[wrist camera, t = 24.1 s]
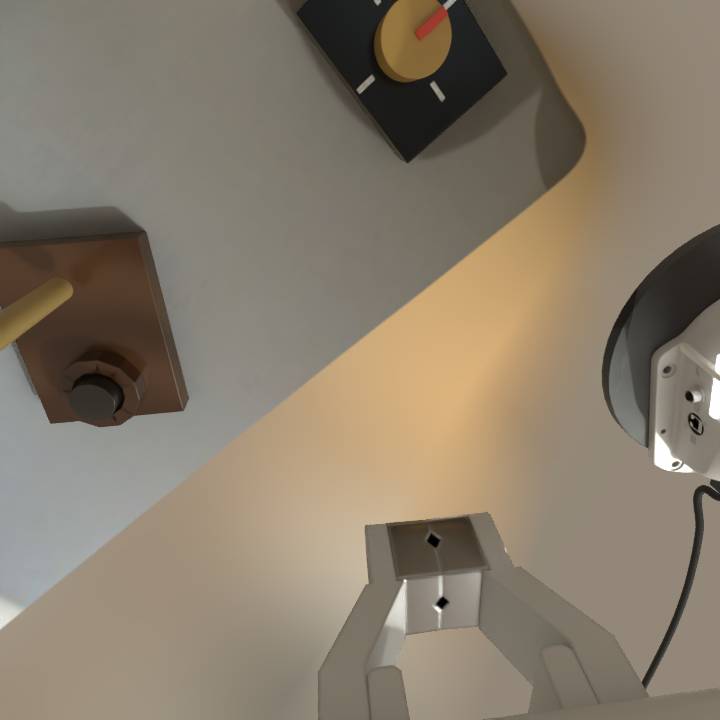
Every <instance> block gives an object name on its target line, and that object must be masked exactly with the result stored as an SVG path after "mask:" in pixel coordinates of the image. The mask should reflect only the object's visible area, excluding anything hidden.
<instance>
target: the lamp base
mask: <svg viewBox="0 0 720 720" xmlns="http://www.w3.org/2000/svg"><path fill="white" fill-rule="evenodd" d="M55 277H60V278H63V279H65V280H67V281H68V282H69V283H70V284H71V285H72V288H73V294H72V296H71V297H70V298H69V299H68V300H66V301H65V302H64V303H62V304H61V305H60V306H59V307H57V308H56V309H55V310H53V311H52V312H51V313H49V314H48V315H47V316H45V317H44V318H43V319H42V320H40V321H39V322H38V323H36V324H35V325H34V326H32V327H31V328H30V329H28V330H27V331H26V332H25V333H23V334H22V335H21V336H19V337H18V338H17V339H15V340H16V343H17V345H18V347H19V350H20V352H21V354H22V357H23V359H24V362H25V364H26V366H27V369H28V371H29V374H30V376H31V378H32V381H33V383H34V386H35V388H36V390H37V393H38V395H39V398H40V400H41V402H42V405H43V407H44V409H45V412H46V414H47V417H48V419H49V421H50V423H51V424H53V423H64V422H74V421H81V422H84V423H88V424H91V425H94V426H97V427H107V426H117V425H121V424H123V423H124V422H126V421H127V420H128V419H130V418H131V417H133V416H137V415H147V414H157V413H168V412H178V411H184V409H185V407H186V404H187V402H188V400H189V397H188V394H187V390H186V386H185V382H184V378H183V374H182V370H181V366H180V362H179V358H178V354H177V350H176V346H175V343H174V339H173V335H172V331H171V327H170V323H169V319H168V315H167V311H166V307H165V303H164V299H163V296H162V292H161V288H160V284H159V280H158V276H157V272H156V268H155V264H154V260H153V256H152V252H151V248H150V245H149V241H148V237H147V233H146V232H134V233H121V234H108V235H95V236H82V237H68V238H55V239H42V240H29V241H16V242H3V243H0V304H1V307H2V309H5V308H7V307H8V306H10V305H11V304H13V303H14V302H16V301H17V300H19V299H21V298H22V297H24V296H25V295H27V294H28V293H30V292H32V291H33V290H35V289H36V288H38V287H39V286H41V285H43V284H44V283H46V282H47V281H49V280H50V279H52V278H55ZM89 375H103V376H106V377H109V378H111V379H112V380H114V381H115V382H116V383H117V384H118V386H119V387H120V389H121V392H122V400H121V402H120V404H119V405H118V407H117V408H116V410H115V411H114V413H113V414H112V416H111V417H109V418H108V419H106V420H103V421H96V422H95V421H88V420H85V419H83V418H81V417H79V416H78V415H77V414H75V413H74V411H73V410H72V409H71V407H70V404H69V395H70V393H71V391H72V390H73V389H74V388H75V387H76V386H77V384H78V383H79V382H80V381H81V380H82V379H83V378H85V377H87V376H89Z"/></svg>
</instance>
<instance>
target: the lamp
mask: <svg viewBox="0 0 720 720" xmlns="http://www.w3.org/2000/svg"><path fill="white" fill-rule="evenodd" d="M72 294H73V288H72V285H71V284H70V283H69V282H68V281H67V280H65V279H63V278H60V277H55V278H52V279H50V280H49V281H47V282H46V283H44V284H43V285H41V286H39V287H38V288H36V289H35V290H33V291H32V292H30V293H28V294H27V295H25V296H24V297H22V298H21V299H19V300H17V301H16V302H14V303H13V304H11V305H10V306H8V307H7V308H5V309H3V310H2V311H0V351H1V350H2V349H4V348H5V347H6V346H8V345H9V344H10V343H11V342H13V341H14V340H15V339H17V338H18V337H19V336H21V335H22V334H23V333H25V332H26V331H27V330H28V329H30V328H31V327H32V326H34V325H35V324H36V323H38V322H39V321H40V320H42V319H43V318H44V317H45V316H47V315H48V314H49V313H51V312H52V311H53V310H55V309H56V308H57V307H59V306H60V305H61V304H62V303H64V302H65V301H66V300H68V299H69V298H70V297H71V296H72Z"/></svg>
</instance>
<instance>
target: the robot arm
mask: <svg viewBox="0 0 720 720" xmlns="http://www.w3.org/2000/svg"><path fill="white" fill-rule="evenodd" d="M665 367H666V368H665ZM664 368H665V369H664ZM648 457H649V460H650V461H651V462H652V463H653V464H654V465H656V466H658V467H660V468H662V469H665V470H669V471H674V472H697V473H699V474H701V475H703V476H705V477H707V478H710V479H711V481H710V485H711V486H713V487H714V488H715V489H716V490H717V491H718V492H719V493H720V299H719V300H717V301H716V302H714V303H713V304H712V305H710V306H709V307H708V308H706V309H705V310H704V311H703V312H702V313H701V314H700V315H699V316H698V317H697V318H696V319H695V320H694V321H693V322H692V323H691V324H690V325H689V326H688V327H687V328H686V329H685V330H684V331H683V332H682V333H681V334H680V335H679V336H677V337H676V338H674V339H672V340H671V341H669V342H667V343H666V344H664V345H663V346H661V347H660V348H659V349H658V350H656V351H655V353H654V354H653V356H652V358H651V380H650V413H649V446H648ZM704 493H706V494H708V495H709V496H710V497H712V498H713V499H715V500H717V501H720V494H719V493H717V492H716V491H715V490H713V489H712V488H710V487H709V486H705V485H702V486H699V487H698V488H697V489H696V490H695V493H694V497H693V503H694V512H695V521H696V529H695V537H694V544H693V550H692V555H691V560H690V564H689V568H688V572H687V577H686V580H685V584H684V587H683V590H682V594H681V597H680V600H679V603H678V605H677V608H676V611H675V614H674V616H673V618H672V621H671V623H670V626H669V628H668V631H667V632H666V635H665V637H664V639H663V641H662V643H661V645H660V647H659V649H658V651H657V653H656V655H655V657H654V659H653V661H652V663H651V665H650V667H649V669H648V671H647V673H646V675H645V677H644V679H643V681H642V683H641V681H640V679H639V678H638V676H637V674H636V673H635V671H634V669H633V667H632V666H631V664H630V662H629V660H628V659H627V657H626V655H625V654H624V652H623V650H622V648H621V647H620V645H619V643H618V642H617V640H616V638H615V636H614V635H612V634H611V633H610V632H608V631H607V630H606V629H604V628H603V627H602V626H600V625H599V624H597V623H596V622H595V621H593V620H592V619H591V618H589V617H588V616H587V615H585V614H584V613H583V612H581V611H580V610H578V609H577V608H576V607H574V606H573V605H572V604H570V603H569V602H568V601H566V600H565V599H564V598H562V597H561V596H560V595H558V594H557V593H555V592H554V591H553V590H551V589H550V588H549V587H547V586H546V585H545V584H543V583H542V582H540V581H539V580H538V579H536V578H535V577H534V576H532V575H531V574H530V573H528V572H527V571H526V570H524V569H523V568H522V567H514V566H513V564H512V561H511V559H510V557H509V555H508V553H507V550H506V549H505V546H504V544H503V542H502V540H501V537H500V535H499V534H498V531H497V529H496V526H495V524H494V522H493V520H492V517H491V515H490V514H489V513H488V512H484V513H476V514H468V515H459V516H450V517H442V518H433V519H426V520H419V521H406V522H395V523H386V524H376V525H365V540H366V555H367V568H368V579H369V584H367V585H366V586H365V587H364V589H363V591H362V593H361V595H360V597H359V598H358V600H357V602H356V604H355V606H354V608H353V609H352V611H351V613H350V615H349V617H348V618H347V620H346V622H345V624H344V626H343V628H342V630H341V631H340V633H339V635H338V637H337V638H336V640H335V642H334V644H333V646H332V648H331V650H330V651H329V653H328V655H327V657H326V659H325V661H324V662H323V664H322V666H321V668H320V670H319V671H318V720H410V719H409V713H408V707H407V701H406V695H405V689H404V683H403V678H402V672H401V670H400V669H398V668H397V667H395V665H396V663H397V660H398V657H399V654H400V652H401V649H402V646H403V644H404V641H405V638H406V637H405V636H406V635H410V634H417V633H424V632H430V631H437V630H445V629H456V628H466V627H477V626H479V629H480V630H481V631H482V632H483V633H484V635H485V636H487V638H488V639H489V640H490V641H491V642H492V643H493V644H494V645H495V646H496V647H497V648H498V649H499V651H500V652H501V653H502V654H503V655H504V656H505V657H506V658H507V659H508V660H509V661H510V662H511V663H512V664H513V665H514V667H515V668H516V669H517V670H518V671H519V672H520V673H521V674H522V675H523V676H524V677H525V678H526V679H527V680H528V681H529V683H530V684H531V685H532V686H533V690H532V695H531V701H530V706H529V711H528V713H527V714H520V715H513V716H506V717H498V718H491V719H483V720H720V688H714V689H707V690H700V691H691V692H685V693H676V694H669V695H662V696H654V697H649V695H648V693H647V692H646V688H647V686H648V684H649V682H650V680H651V678H652V677H653V675H654V673H655V671H656V669H657V667H658V665H659V663H660V661H661V659H662V657H663V655H664V653H665V651H666V649H667V647H668V645H669V643H670V641H671V639H672V637H673V635H674V632H675V630H676V628H677V625H678V623H679V621H680V618H681V615H682V613H683V610H684V608H685V605H686V602H687V599H688V596H689V593H690V590H691V587H692V583H693V579H694V576H695V572H696V568H697V564H698V559H699V554H700V549H701V544H702V538H703V531H704V520H703V511H702V495H703V494H704Z"/></svg>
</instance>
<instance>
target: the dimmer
mask: <svg viewBox="0 0 720 720" xmlns="http://www.w3.org/2000/svg"><path fill="white" fill-rule="evenodd" d="M397 1H398V0H308V1H307V2H306V3H305V4H304V5H303V6H302V7H301V8H300V9H299V10H298V11H297V13H296V15H297V21H298V23H299V24H300V26H301V27H302V28H303V30H304V31H305V32H306V34H307V35H308V36H309V38H310V39H311V40H312V42H313V43H314V44H315V46H316V47H317V48H318V50H319V51H320V52H321V54H322V55H323V56H324V58H325V59H326V60H327V62H328V63H329V64H330V66H331V67H332V68H333V70H334V71H335V72H336V74H337V75H338V76H339V78H340V79H341V80H342V82H343V83H344V84H345V86H346V87H347V89H348V90H349V91H350V93H351V94H352V95H353V97H354V98H355V99H356V101H357V102H358V103H359V105H360V106H361V107H362V109H363V110H364V111H365V113H366V114H367V115H368V117H369V118H370V119H371V121H372V122H373V123H374V125H375V126H376V127H377V129H378V130H379V131H380V133H381V134H382V135H383V137H384V138H385V139H386V141H387V142H388V143H389V145H390V146H391V147H392V149H393V150H394V151H395V153H396V154H397V155H398V157H399V158H400V159H401V160H402V161H404V162H406V163H409V162H410V161H411V160H413V159H414V158H415V157H416V156H417V155H418V154H419V153H420V152H422V151H423V150H424V149H425V148H426V147H427V146H428V145H429V144H430V143H432V142H433V141H434V140H435V139H436V138H437V137H438V136H439V135H440V134H442V133H443V132H444V131H445V130H446V129H447V128H448V127H449V126H451V125H452V124H453V123H454V122H455V121H456V120H457V119H458V118H459V117H461V116H462V115H463V114H464V113H465V112H466V111H467V110H468V109H469V108H471V107H472V106H473V105H474V104H475V103H476V102H477V101H478V100H480V99H481V98H482V97H483V96H484V95H485V94H486V93H487V92H488V91H490V90H491V89H492V88H493V87H494V86H495V85H496V84H497V83H499V82H500V81H501V80H502V79H503V78H504V77H505V76H506V75H507V72H506V70H505V69H504V67H503V65H502V64H501V62H500V60H499V59H498V57H497V55H496V53H495V52H494V50H493V48H492V47H491V45H490V43H489V42H488V40H487V38H486V37H485V35H484V33H483V31H482V30H481V28H480V26H479V25H478V23H477V21H476V20H475V18H474V16H473V15H472V13H471V11H470V9H469V8H468V6H467V4H466V3H465V1H464V0H437V1H438V2H439V3H440V4H441V5H442V6H444V7H445V9H446V11H447V12H448V17H449V20H450V24H451V32H452V37H451V45H450V49H449V52H448V55H447V57H446V59H445V60H444V62H443V63H442V65H441V66H440V67H439V68H438V69H437V70H436V71H435V72H434V73H432V74H431V75H429V76H427V77H425V78H421V79H418V80H415V81H411V82H399V81H396V80H394V79H392V78H390V77H389V76H387V75H386V74H385V73H384V72H383V70H382V69H381V68H380V66H379V64H378V62H377V59H376V56H375V51H374V39H375V33H376V30H377V27H378V25H379V23H380V21H381V20H382V18H383V17H384V16H385V14H386V13H387V12H388V10H389V9H390V8H391V6H392V5H393V4H394V3H395V2H397Z"/></svg>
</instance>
